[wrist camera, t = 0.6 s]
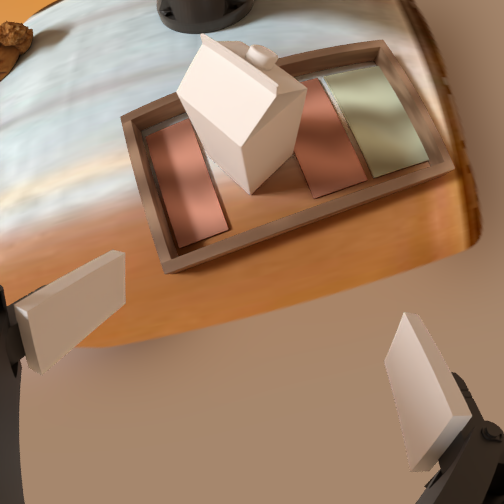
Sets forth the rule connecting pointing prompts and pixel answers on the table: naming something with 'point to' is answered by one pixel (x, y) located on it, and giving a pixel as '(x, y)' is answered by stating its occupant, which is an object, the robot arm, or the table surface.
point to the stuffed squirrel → (13, 44)
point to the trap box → (306, 150)
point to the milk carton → (242, 108)
